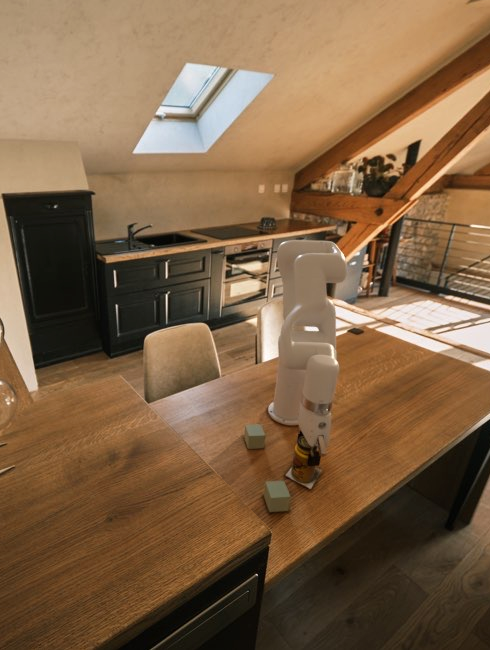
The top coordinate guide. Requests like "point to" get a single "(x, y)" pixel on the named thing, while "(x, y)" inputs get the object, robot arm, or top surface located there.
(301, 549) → the top surface
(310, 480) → the condiment
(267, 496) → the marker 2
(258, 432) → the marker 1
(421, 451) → the top surface
